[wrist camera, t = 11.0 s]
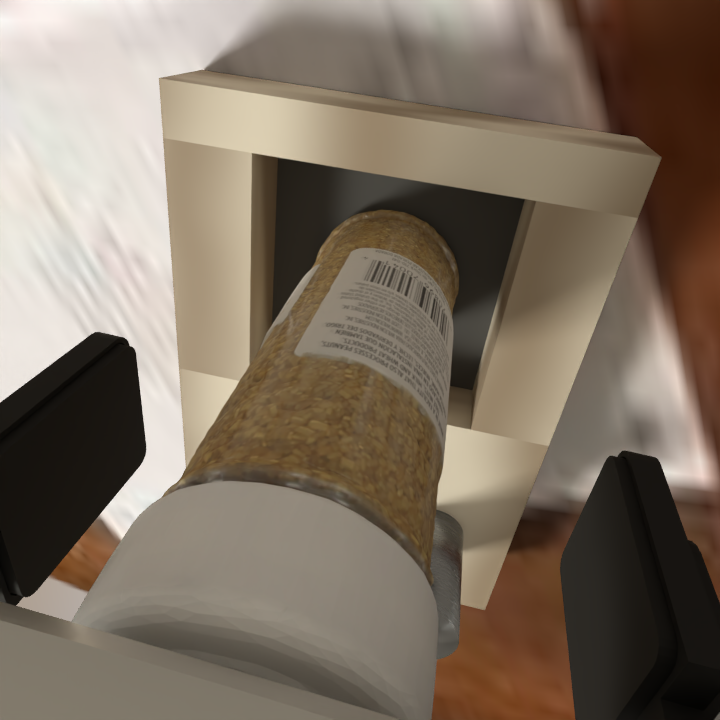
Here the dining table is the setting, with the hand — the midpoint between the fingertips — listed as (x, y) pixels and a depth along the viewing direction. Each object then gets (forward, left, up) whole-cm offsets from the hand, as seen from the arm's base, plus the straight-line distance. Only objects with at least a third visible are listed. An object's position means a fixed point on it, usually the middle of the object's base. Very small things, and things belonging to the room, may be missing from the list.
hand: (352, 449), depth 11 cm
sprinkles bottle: (0, 0, -8) cm, 8 cm away
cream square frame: (+1, +3, -8) cm, 9 cm away
